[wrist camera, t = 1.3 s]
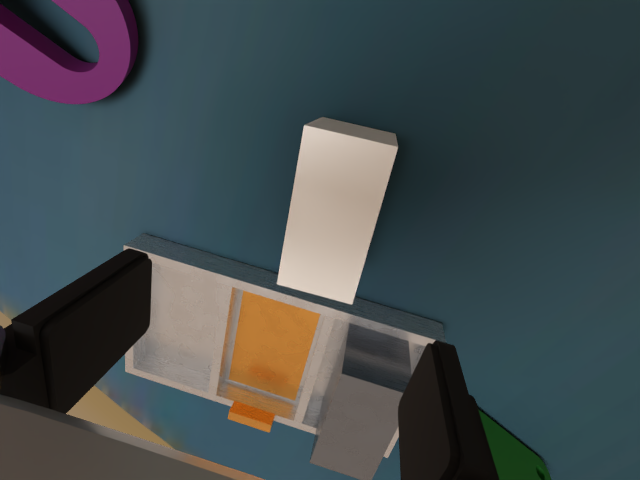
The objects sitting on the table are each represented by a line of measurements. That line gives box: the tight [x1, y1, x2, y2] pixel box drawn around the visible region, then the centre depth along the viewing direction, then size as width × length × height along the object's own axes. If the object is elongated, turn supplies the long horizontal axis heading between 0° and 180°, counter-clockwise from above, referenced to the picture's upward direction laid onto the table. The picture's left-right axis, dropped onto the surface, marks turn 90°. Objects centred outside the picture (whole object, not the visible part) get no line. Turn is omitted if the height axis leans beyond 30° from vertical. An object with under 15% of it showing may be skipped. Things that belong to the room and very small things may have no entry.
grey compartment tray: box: [124, 233, 446, 480], centre depth 29 cm, size 26×14×6 cm, turn 76°
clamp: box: [478, 409, 551, 480], centre depth 30 cm, size 12×6×9 cm, turn 45°
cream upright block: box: [277, 117, 398, 305], centre depth 23 cm, size 10×5×6 cm, turn 168°
